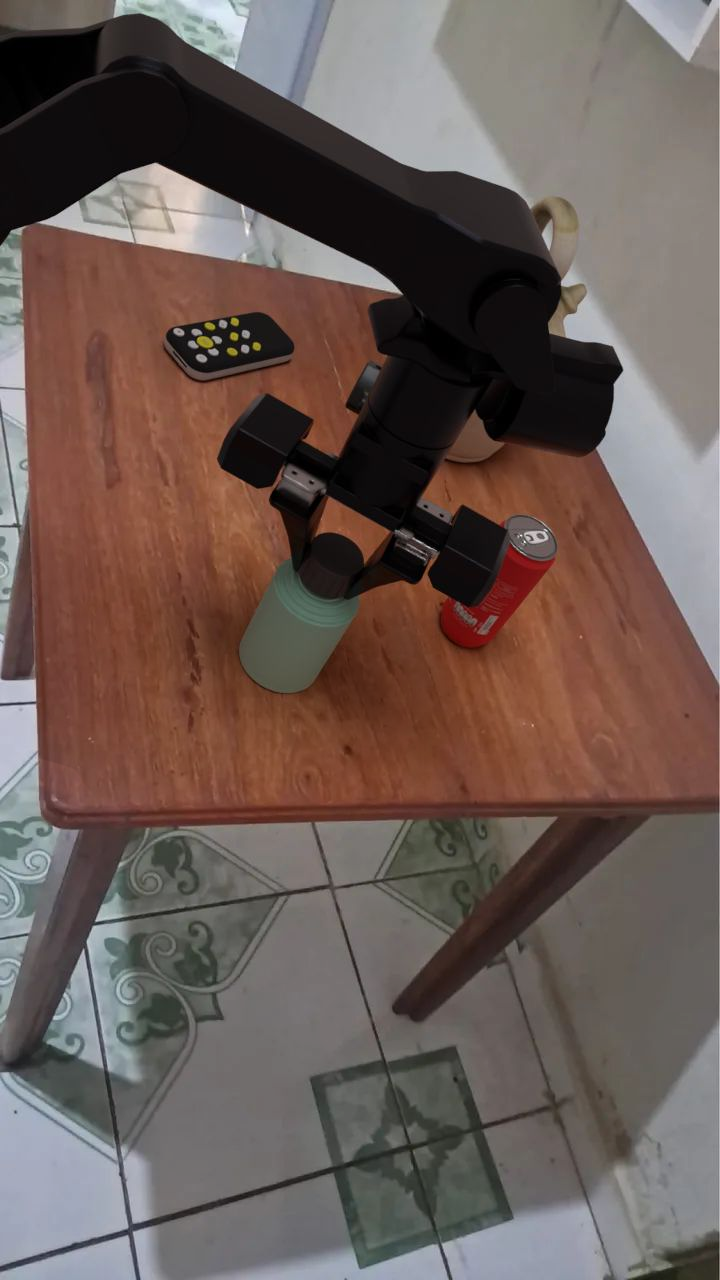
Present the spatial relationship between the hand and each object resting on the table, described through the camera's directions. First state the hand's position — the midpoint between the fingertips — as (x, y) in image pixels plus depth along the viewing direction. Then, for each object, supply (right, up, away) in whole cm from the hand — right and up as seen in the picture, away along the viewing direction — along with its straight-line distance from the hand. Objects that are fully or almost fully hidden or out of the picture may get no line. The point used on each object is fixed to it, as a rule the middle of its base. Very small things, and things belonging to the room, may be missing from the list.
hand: (323, 581), depth 66 cm
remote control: (-10, +24, +26) cm, 37 cm away
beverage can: (+11, -3, +16) cm, 20 cm away
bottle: (-4, -6, +7) cm, 9 cm away
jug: (+11, +18, +33) cm, 39 cm away
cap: (+1, +1, -2) cm, 3 cm away
